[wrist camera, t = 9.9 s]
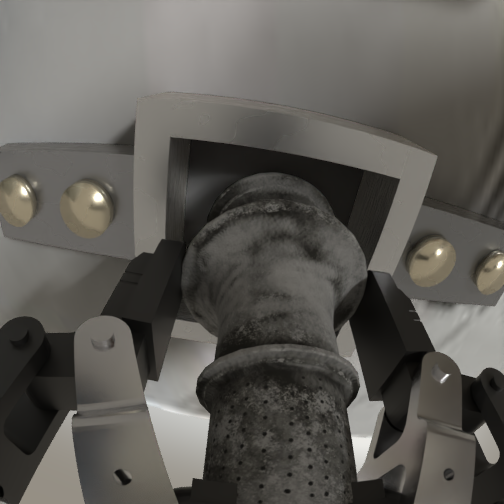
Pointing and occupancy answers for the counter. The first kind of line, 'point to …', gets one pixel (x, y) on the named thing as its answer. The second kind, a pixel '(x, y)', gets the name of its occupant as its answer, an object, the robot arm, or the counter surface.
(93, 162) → the studded gray strap
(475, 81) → the counter surface
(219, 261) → the grey tall turned piece
